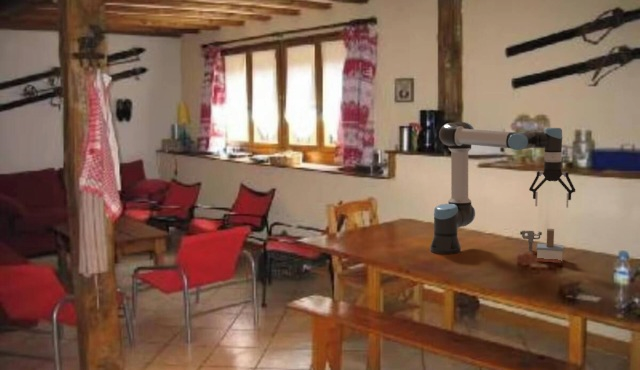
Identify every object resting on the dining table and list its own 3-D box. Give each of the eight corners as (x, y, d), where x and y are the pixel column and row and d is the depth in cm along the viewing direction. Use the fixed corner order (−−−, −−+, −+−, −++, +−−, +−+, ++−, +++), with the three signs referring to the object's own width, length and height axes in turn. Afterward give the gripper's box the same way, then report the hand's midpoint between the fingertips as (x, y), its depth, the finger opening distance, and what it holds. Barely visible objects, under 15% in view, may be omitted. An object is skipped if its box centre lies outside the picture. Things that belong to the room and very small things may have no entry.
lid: (536, 251, 300) (537, 230, 299) (537, 247, 308) (538, 227, 307) (563, 252, 296) (563, 232, 295) (563, 248, 304) (563, 228, 303)
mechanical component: (541, 251, 321) (542, 232, 320) (520, 251, 323) (520, 231, 322) (540, 250, 324) (541, 230, 322) (519, 249, 326) (520, 230, 324)
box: (536, 261, 301) (537, 249, 300) (537, 258, 308) (538, 245, 308) (561, 263, 297) (562, 251, 296) (562, 259, 304) (562, 247, 304)
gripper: (524, 161, 298) (523, 206, 300) (582, 162, 289) (580, 208, 291) (525, 160, 305) (524, 204, 307) (581, 160, 296) (580, 206, 298)
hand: (551, 206), depth 299 cm, fingers open, 13 cm apart
